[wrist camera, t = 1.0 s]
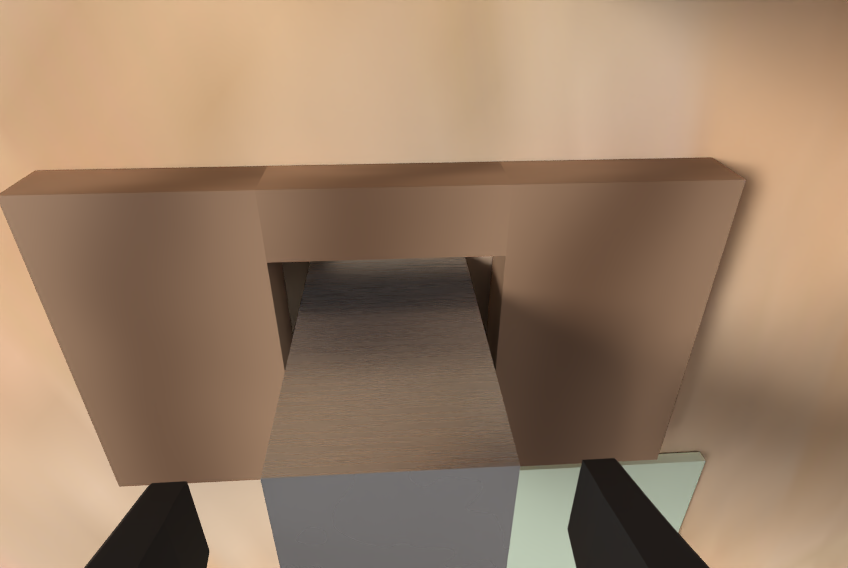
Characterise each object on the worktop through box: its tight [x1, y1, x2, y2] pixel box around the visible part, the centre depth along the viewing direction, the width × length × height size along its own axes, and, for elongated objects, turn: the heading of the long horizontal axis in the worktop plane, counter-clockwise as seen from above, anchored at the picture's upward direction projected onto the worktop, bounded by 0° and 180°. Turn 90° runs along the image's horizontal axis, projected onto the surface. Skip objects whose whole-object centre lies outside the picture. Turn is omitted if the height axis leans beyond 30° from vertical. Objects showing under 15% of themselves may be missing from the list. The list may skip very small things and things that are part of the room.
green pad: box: [507, 452, 705, 568], centre depth 21 cm, size 9×9×1 cm
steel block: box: [260, 257, 520, 568], centre depth 13 cm, size 4×4×7 cm
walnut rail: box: [0, 158, 746, 486], centre depth 15 cm, size 16×9×2 cm, turn 90°
